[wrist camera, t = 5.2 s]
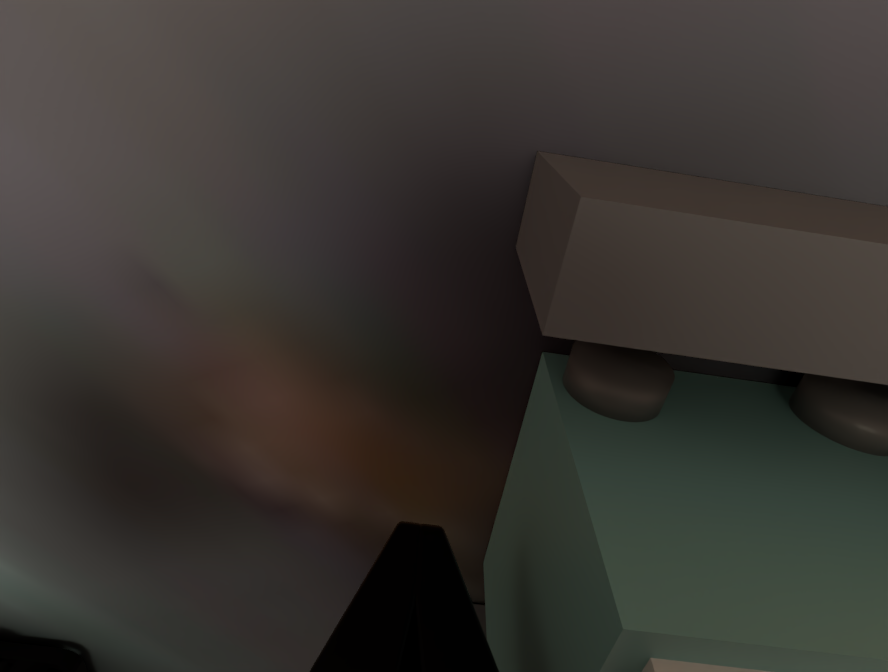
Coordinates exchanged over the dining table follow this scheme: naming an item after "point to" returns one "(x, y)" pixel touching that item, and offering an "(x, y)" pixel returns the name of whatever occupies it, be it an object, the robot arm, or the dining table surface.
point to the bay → (706, 269)
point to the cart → (690, 522)
